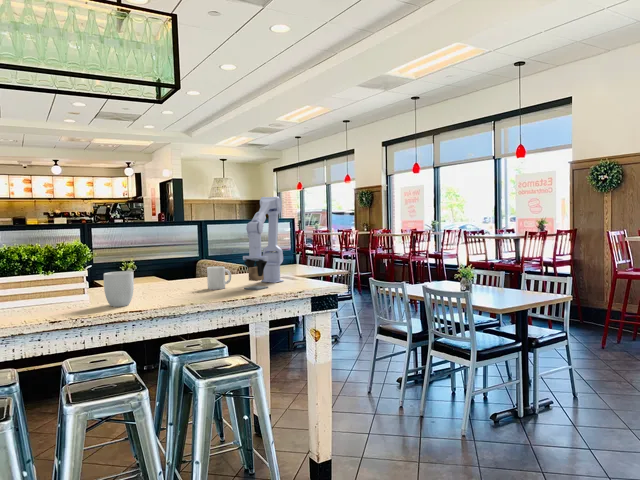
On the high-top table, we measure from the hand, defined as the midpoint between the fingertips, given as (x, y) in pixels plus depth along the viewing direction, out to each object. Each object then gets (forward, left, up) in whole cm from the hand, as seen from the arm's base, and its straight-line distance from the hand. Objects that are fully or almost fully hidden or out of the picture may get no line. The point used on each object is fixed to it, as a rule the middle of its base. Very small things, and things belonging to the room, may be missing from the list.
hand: (255, 275), depth 230 cm
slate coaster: (0, 0, -6) cm, 6 cm away
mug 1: (-20, -58, -6) cm, 62 cm away
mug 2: (-17, -7, -6) cm, 19 cm away
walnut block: (0, 0, -2) cm, 2 cm away
